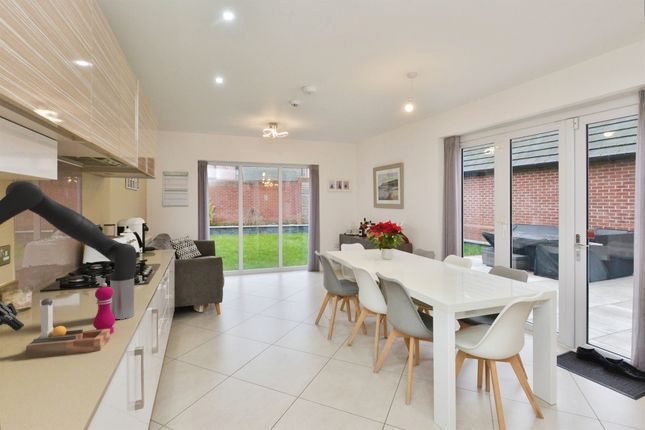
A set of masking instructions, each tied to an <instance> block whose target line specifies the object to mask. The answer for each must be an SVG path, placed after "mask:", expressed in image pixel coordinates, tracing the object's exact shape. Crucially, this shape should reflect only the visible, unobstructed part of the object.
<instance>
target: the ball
mask: <svg viewBox="0 0 645 430" xmlns="http://www.w3.org/2000/svg"><path fill="white" fill-rule="evenodd" d="M66 331H67V328H66V327H65V326H64V325H58V326H56V327H54V329H53V331H52V336H53V337H62V336H64V335H65V334H66Z"/></svg>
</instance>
